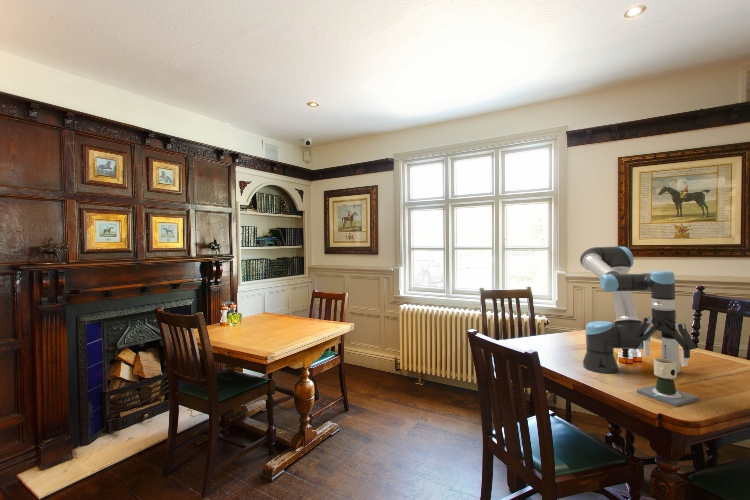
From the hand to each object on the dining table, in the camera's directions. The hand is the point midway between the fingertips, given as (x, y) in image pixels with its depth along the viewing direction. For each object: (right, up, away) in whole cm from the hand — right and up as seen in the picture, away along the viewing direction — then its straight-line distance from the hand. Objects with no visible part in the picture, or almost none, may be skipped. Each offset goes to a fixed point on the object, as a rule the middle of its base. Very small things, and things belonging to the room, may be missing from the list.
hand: (664, 360), depth 139 cm
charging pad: (0, -15, 0) cm, 15 cm away
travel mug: (+25, -14, +26) cm, 39 cm away
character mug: (0, -13, 0) cm, 13 cm away
